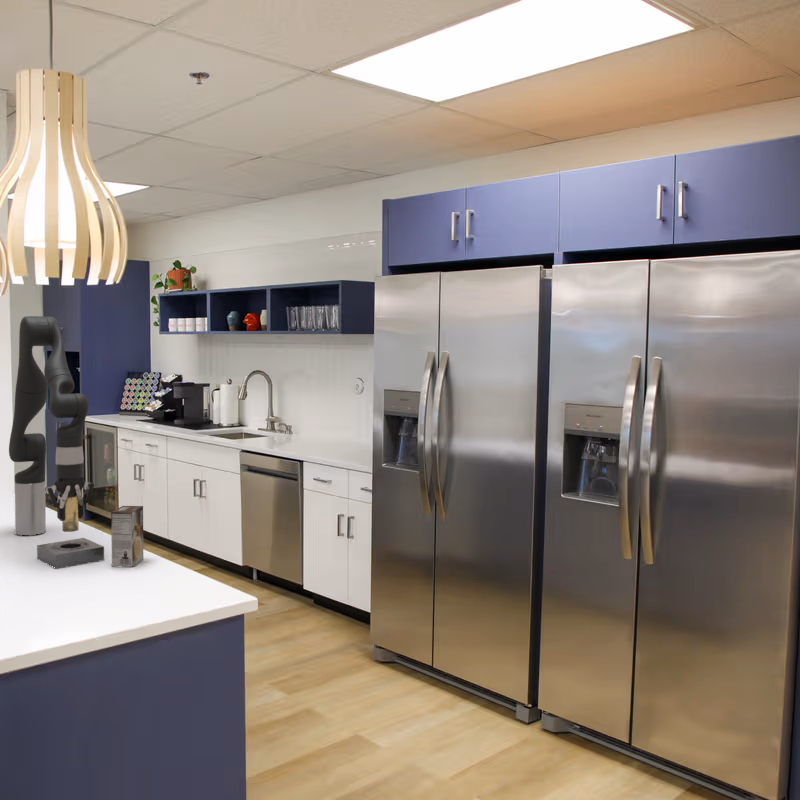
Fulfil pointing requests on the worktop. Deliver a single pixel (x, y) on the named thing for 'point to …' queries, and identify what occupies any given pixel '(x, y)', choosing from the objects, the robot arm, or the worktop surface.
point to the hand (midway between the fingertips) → (70, 519)
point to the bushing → (71, 515)
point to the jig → (70, 552)
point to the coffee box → (127, 535)
